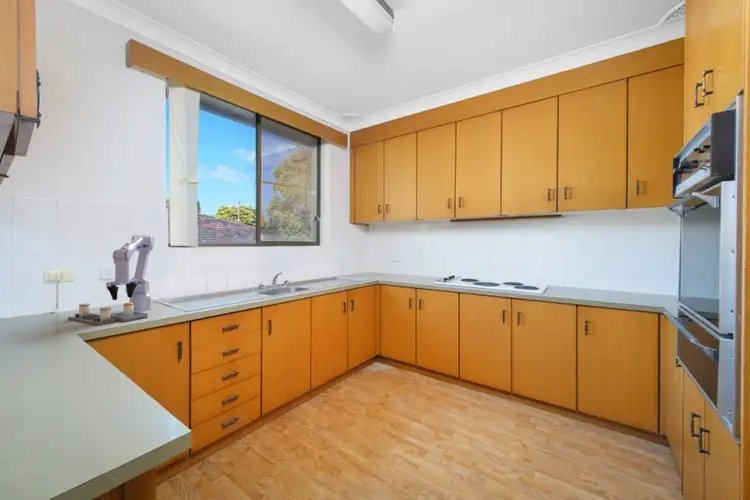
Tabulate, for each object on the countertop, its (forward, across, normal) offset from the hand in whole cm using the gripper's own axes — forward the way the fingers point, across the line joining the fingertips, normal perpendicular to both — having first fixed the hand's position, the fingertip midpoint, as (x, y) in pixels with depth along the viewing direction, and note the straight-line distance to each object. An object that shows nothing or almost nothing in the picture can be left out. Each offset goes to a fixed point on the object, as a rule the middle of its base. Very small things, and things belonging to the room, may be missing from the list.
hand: (122, 298), depth 168 cm
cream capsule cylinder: (+10, +8, -16) cm, 20 cm away
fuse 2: (+10, +10, +2) cm, 14 cm away
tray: (+10, 0, +5) cm, 11 cm away
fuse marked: (+9, 0, +4) cm, 10 cm away
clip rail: (+10, +9, -7) cm, 15 cm away
